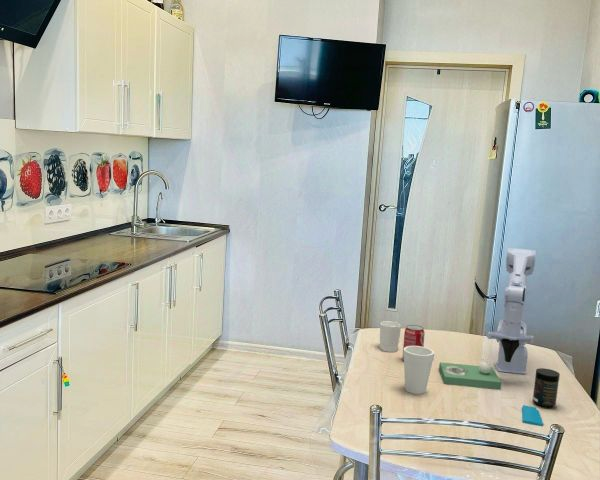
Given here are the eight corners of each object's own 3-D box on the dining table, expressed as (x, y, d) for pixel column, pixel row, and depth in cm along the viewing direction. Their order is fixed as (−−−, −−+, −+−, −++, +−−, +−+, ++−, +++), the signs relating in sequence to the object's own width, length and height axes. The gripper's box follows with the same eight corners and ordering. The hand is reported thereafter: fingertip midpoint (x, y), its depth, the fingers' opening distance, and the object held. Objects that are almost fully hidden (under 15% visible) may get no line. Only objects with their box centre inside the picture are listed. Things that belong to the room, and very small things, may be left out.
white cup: (400, 353, 221) (402, 327, 219) (379, 351, 221) (381, 326, 219) (397, 346, 228) (399, 321, 227) (377, 345, 228) (379, 320, 227)
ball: (489, 371, 199) (490, 360, 199) (491, 376, 195) (493, 364, 195) (477, 370, 200) (478, 359, 199) (479, 374, 196) (480, 363, 195)
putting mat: (491, 374, 204) (492, 367, 204) (500, 389, 190) (501, 382, 190) (439, 369, 206) (439, 362, 206) (444, 383, 192) (444, 376, 192)
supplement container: (560, 408, 178) (564, 375, 177) (542, 410, 176) (546, 376, 175) (545, 399, 185) (549, 367, 183) (527, 400, 183) (531, 368, 181)
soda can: (422, 366, 208) (425, 330, 206) (401, 363, 209) (404, 328, 207) (422, 359, 215) (425, 325, 213) (402, 357, 216) (405, 323, 214)
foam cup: (432, 387, 188) (435, 348, 186) (428, 398, 180) (432, 357, 178) (402, 382, 191) (406, 344, 189) (397, 392, 183) (401, 352, 181)
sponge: (543, 408, 176) (522, 402, 177) (544, 425, 164) (522, 418, 166) (541, 413, 176) (521, 407, 178) (543, 430, 165) (521, 423, 167)
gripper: (492, 322, 191) (487, 362, 193) (538, 327, 189) (533, 367, 191) (487, 317, 198) (483, 356, 200) (532, 321, 196) (527, 360, 198)
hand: (507, 361), depth 196 cm, fingers closed
